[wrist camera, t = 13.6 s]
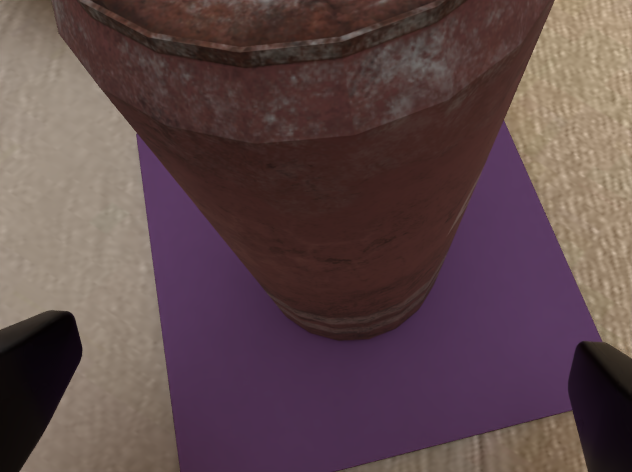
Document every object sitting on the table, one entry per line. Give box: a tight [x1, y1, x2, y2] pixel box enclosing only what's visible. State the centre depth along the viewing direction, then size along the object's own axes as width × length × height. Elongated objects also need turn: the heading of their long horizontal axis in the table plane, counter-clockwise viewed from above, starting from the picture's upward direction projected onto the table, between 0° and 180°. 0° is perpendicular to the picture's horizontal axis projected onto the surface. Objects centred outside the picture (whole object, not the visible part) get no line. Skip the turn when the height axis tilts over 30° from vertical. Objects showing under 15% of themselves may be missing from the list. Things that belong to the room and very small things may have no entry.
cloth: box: [136, 121, 602, 472], centre depth 18 cm, size 14×14×1 cm
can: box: [51, 0, 554, 341], centre depth 12 cm, size 6×6×14 cm
